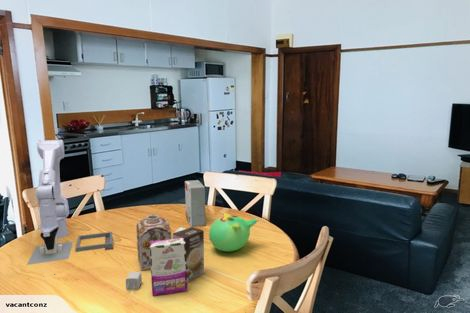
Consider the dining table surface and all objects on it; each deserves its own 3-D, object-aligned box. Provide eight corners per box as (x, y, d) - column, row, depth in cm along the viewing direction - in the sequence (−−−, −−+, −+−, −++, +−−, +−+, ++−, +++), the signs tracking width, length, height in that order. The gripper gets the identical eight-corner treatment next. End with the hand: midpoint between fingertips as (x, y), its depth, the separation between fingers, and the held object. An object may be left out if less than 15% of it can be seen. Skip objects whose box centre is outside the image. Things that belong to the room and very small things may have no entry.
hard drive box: (185, 217, 183) (184, 180, 180) (199, 216, 185) (199, 179, 182) (190, 227, 168) (189, 187, 165) (206, 226, 170) (205, 186, 167)
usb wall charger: (141, 282, 117) (141, 271, 116) (136, 294, 110) (136, 282, 109) (129, 283, 116) (129, 272, 116) (123, 294, 110) (123, 282, 109)
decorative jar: (137, 258, 135) (135, 213, 133) (167, 253, 139) (165, 210, 137) (140, 271, 124) (138, 223, 121) (173, 266, 128) (171, 219, 126)
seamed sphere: (186, 248, 144) (186, 231, 142) (170, 246, 146) (170, 229, 145) (196, 239, 153) (196, 223, 152) (181, 237, 155) (181, 222, 154)
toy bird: (225, 238, 155) (225, 206, 153) (259, 245, 146) (259, 212, 144) (201, 252, 140) (200, 217, 137) (237, 262, 131) (237, 225, 129)
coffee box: (185, 284, 116) (184, 238, 113) (173, 278, 120) (171, 233, 117) (204, 273, 123) (204, 230, 120) (192, 268, 127) (191, 226, 124)
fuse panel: (36, 248, 145) (35, 240, 144) (73, 243, 149) (72, 235, 149) (27, 267, 128) (26, 258, 127) (68, 261, 133) (67, 252, 132)
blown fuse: (46, 251, 139) (45, 234, 138) (57, 249, 141) (56, 233, 140) (45, 254, 136) (43, 237, 135) (56, 252, 138) (55, 236, 137)
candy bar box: (185, 283, 116) (184, 236, 113) (187, 291, 111) (186, 242, 109) (151, 288, 113) (149, 240, 110) (151, 296, 108) (149, 246, 106)
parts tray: (78, 241, 152) (78, 235, 152) (112, 237, 157) (112, 231, 156) (75, 254, 139) (75, 248, 138) (112, 249, 144) (112, 243, 143)
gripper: (40, 210, 142) (43, 242, 144) (32, 221, 128) (36, 256, 130) (59, 208, 144) (62, 239, 146) (54, 219, 130) (57, 253, 133)
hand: (51, 247), depth 138 cm, fingers closed on blown fuse, 3 cm apart
